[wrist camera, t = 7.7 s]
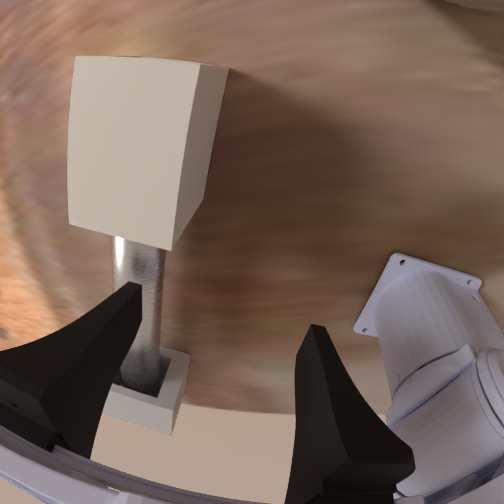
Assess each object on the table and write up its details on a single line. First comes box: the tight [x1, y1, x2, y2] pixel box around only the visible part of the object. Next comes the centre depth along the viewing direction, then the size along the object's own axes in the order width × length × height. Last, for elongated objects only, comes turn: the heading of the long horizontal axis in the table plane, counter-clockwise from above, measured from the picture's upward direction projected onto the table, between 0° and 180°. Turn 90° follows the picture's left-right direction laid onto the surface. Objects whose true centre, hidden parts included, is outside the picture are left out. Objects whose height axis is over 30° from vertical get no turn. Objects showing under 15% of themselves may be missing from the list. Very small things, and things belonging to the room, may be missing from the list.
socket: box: [102, 346, 191, 435], centre depth 29 cm, size 8×6×7 cm
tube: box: [111, 235, 166, 397], centre depth 23 cm, size 4×22×4 cm, turn 167°
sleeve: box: [68, 56, 229, 251], centre depth 16 cm, size 6×9×7 cm
